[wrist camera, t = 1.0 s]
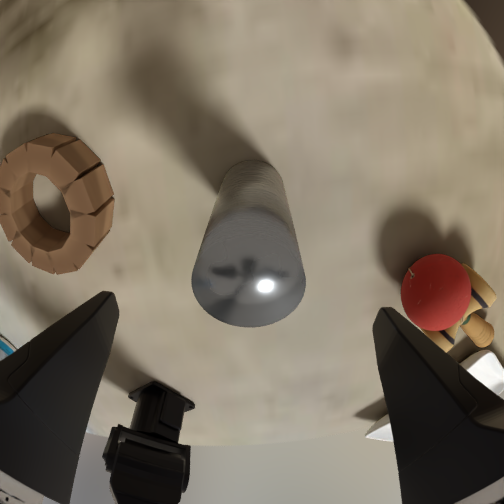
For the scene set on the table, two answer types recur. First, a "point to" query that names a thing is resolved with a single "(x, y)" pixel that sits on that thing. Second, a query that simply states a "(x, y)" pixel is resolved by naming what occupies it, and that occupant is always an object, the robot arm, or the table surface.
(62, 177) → the bead ring
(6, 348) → the beverage bottle
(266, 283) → the grey metal cylinder
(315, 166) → the table surface
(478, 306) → the kendama
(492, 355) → the salad plate
